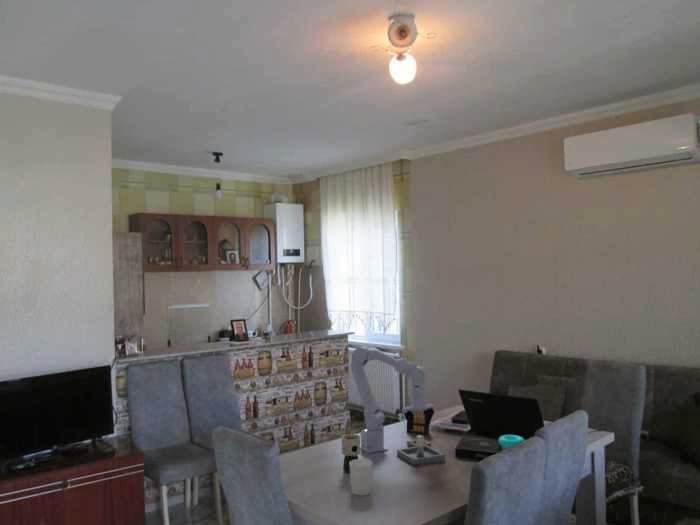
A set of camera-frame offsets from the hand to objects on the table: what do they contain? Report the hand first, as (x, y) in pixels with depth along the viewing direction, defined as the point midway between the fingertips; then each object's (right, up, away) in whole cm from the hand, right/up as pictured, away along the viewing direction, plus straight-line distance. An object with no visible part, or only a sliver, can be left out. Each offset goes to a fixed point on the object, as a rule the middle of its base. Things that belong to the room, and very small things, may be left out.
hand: (419, 428), depth 230 cm
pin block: (+1, -11, +8) cm, 14 cm away
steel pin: (0, -9, -6) cm, 11 cm away
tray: (0, -10, -6) cm, 12 cm away
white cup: (-25, -10, -40) cm, 48 cm away
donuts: (+35, -10, -14) cm, 39 cm away
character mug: (-28, -11, -20) cm, 36 cm away
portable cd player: (+25, -11, -1) cm, 27 cm away
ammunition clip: (+3, -11, +29) cm, 31 cm away
